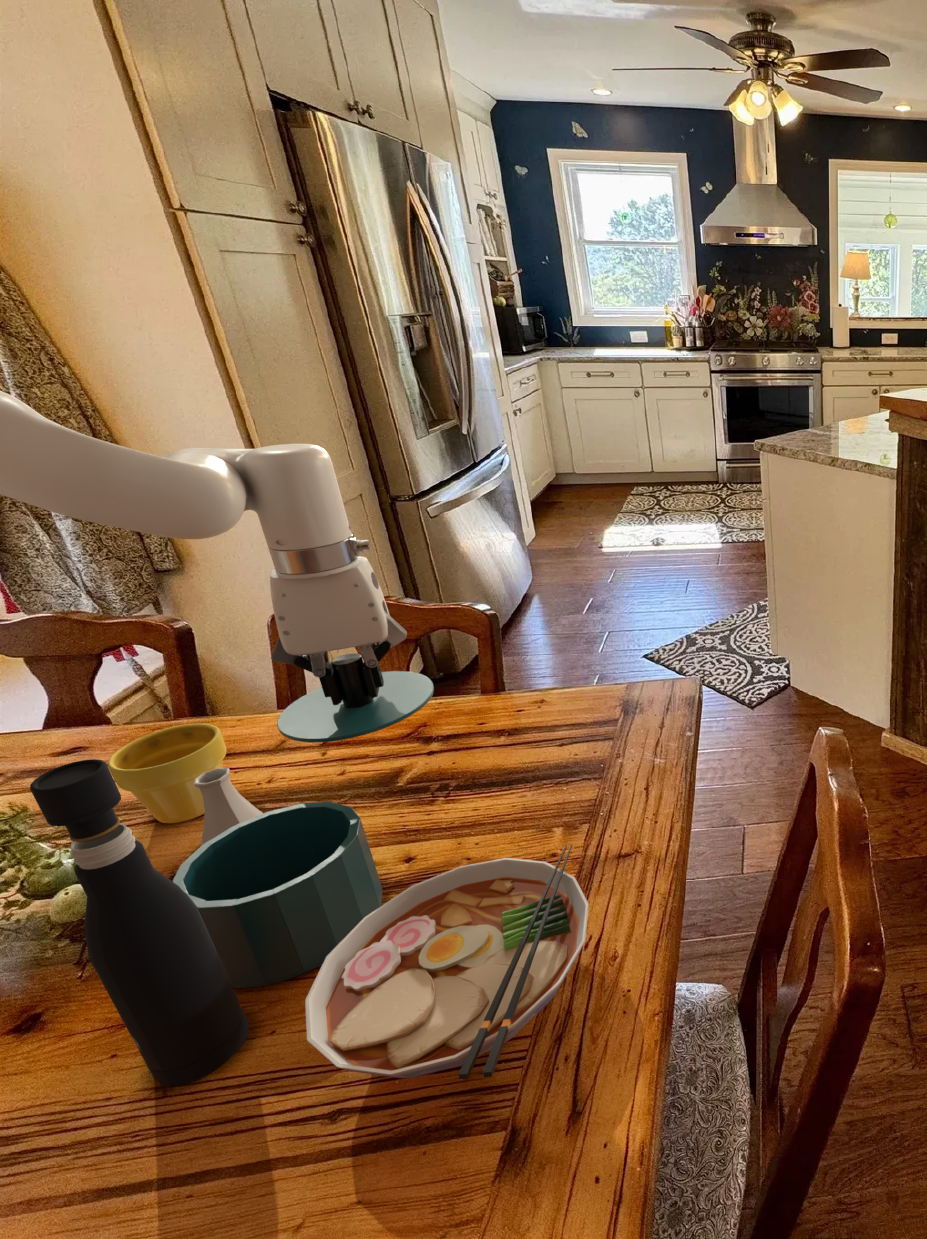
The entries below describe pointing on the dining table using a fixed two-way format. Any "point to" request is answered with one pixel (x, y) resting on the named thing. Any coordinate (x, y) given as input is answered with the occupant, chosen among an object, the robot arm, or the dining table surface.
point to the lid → (354, 704)
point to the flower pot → (169, 769)
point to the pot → (282, 889)
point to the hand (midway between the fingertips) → (356, 694)
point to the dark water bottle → (143, 933)
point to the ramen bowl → (448, 969)
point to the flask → (222, 803)
